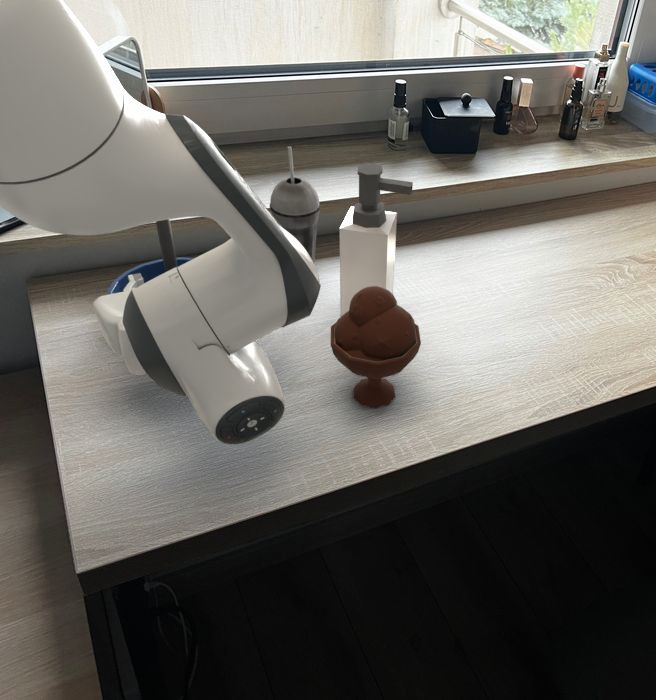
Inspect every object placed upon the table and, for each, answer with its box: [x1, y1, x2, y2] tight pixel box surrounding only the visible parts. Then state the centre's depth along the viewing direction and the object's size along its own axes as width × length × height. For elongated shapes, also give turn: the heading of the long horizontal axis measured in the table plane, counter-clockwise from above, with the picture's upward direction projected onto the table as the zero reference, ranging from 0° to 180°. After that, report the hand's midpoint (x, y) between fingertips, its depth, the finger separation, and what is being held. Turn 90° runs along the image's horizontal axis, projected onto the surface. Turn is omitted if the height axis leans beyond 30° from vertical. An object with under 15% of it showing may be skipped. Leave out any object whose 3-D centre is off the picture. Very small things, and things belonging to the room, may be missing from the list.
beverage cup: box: [269, 146, 322, 265], centre depth 106 cm, size 7×7×20 cm
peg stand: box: [155, 219, 178, 272], centre depth 93 cm, size 6×6×18 cm
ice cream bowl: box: [330, 286, 422, 409], centre depth 88 cm, size 11×11×15 cm
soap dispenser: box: [339, 162, 414, 317], centre depth 100 cm, size 6×9×22 cm
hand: (175, 270), depth 89 cm, fingers open, 8 cm apart
